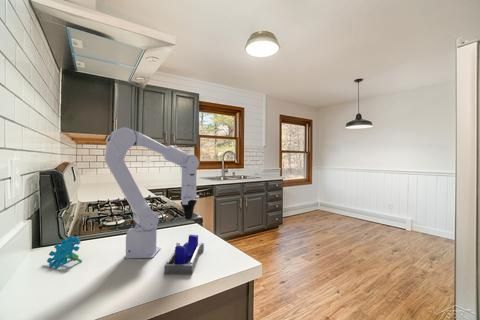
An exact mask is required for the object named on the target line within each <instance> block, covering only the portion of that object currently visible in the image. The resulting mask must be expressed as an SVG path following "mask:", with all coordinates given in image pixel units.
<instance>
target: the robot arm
mask: <svg viewBox="0 0 480 320" xmlns="http://www.w3.org/2000/svg"><path fill="white" fill-rule="evenodd" d="M132 147H143V148H146V149H149V150H150V151H154V152H156V153H158V154H161V155H162V156H163V157H162V158H163V159H164V160H166V161H168V162H170V163H172V164H175V165H177V166H179V168H181V194H180V199H181V202H180V205H181V207H182V210H183V212H184V213H183V214H184V218H185V220H187V221H188V220H192V219H193V215H194V209H195V206H196V204H197V202H198V201H197V200H196V199H199V198H200V195H197V170H198V168H199V166H200V161H199V158H198V157H197V156H196V155H194V154H189V151H186V150H185V151H184V150H181V149H179V146H177V145H176V144H175V145H168V146H166V145H164V144H162V143H160V142H159V141H156V140H155V139H154V138H153V139H152V138H151V137H149V136H147V135H145V134H143V133H141V132H139V131H137V130H133V129H131V128H130V127H129V128H128V127H120V128H118V129H115V130H112V132H111V133H110V135H109V136H108V137H107V140H106V146H105V154H104V161H105V164H106V166H107V167H108V169H109V171H110V173H111V174H112V176H113V177H114V179H115V181H116V183H117V184H118V187H119V189H120V190H121V192H122V193H123V195H124V197H125V199H126V201H127V203H128V205H129V206H130V209H131V211H132V219H133V221H134V223H135V225H134V227H131V228H129V229H127V232H126V236H125V255H124V259H153V258H154V257H155V256H156V255H157V254H158V252H159V251H160V249H161V247H160V246H159V247H157V233H158V232H157V230H158V229H157V225H158V224H159V223H160V222H159V221H160V217H159V214H158V213H157V212H156V211H153V209H152V208H151V206H150V205H149V204H148V202H147V201H146V199H145V198H144V196H143V194H142V192H141V190H140V189H139V186H138V185H137V183H136V181H135V179H134V177H133V175H132V174H131V172H130V170H129V168H128V166H127V164H126V162H125V161H124V160H125V159H124V158H125V157H126V155H127V153H128V150H129V149H130V148H132Z"/></svg>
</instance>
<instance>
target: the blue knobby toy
mask: <svg viewBox="0 0 480 320" xmlns="http://www.w3.org/2000/svg"><path fill="white" fill-rule="evenodd" d="M81 242H82V241H81V240H80V239H79V237H78V236H72V235H70V236H68V237H67V239H66V238H63V239H61V241H60V243H61V244H59V243H57V244H55V245H54V249H55V251H53V250H51V251H50V252H49V253H48V256H51V257H48V258H47V260H46V262H47V263H48V266H49V267H50V268H53V267H54V268H56V269H57V268H59V267H60V266H61V264H62V266H63V265H66V264H67V263H68V260H71V261H73V262H78V263H82V262H83V259H81V258H79V254H77V253H74V252H73V251H75V252H78V251H79V249H80V247H79V246H77V245H80V244H81Z"/></svg>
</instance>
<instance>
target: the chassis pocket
mask: <svg viewBox="0 0 480 320" xmlns="http://www.w3.org/2000/svg"><path fill="white" fill-rule="evenodd" d="M204 244H205V243H204V242H200V243H198V245H197V247H196V250H195V252H194V254H193V257H192V258H191V260H190V261H189V263H187V264H175V249H174V250H173V252H172V253H171V254H170V256H169V257H168V259H167V261H166V262H165V264H164V265H163V266H164V268H163V269H164V271H163V272H164V275H192V274H193V273H194V270H195V268H196V265H197V262H198V259H199V257H200V253H202V252H203V251H204V249H205V247H204V246H205V245H204ZM176 246H182V245H181V243H180V242H176V244H175V247H176Z"/></svg>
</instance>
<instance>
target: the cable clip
mask: <svg viewBox="0 0 480 320" xmlns="http://www.w3.org/2000/svg"><path fill="white" fill-rule="evenodd" d="M197 245H199V235H197V234H189V235H188V241H187V242H185V243H184V244H183V245H181V246H176V245H175V247H174V250H175V263H174V264H189V263H190V261H191V259H192V257H193V254H194V252H195V250H196V247H197Z"/></svg>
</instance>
